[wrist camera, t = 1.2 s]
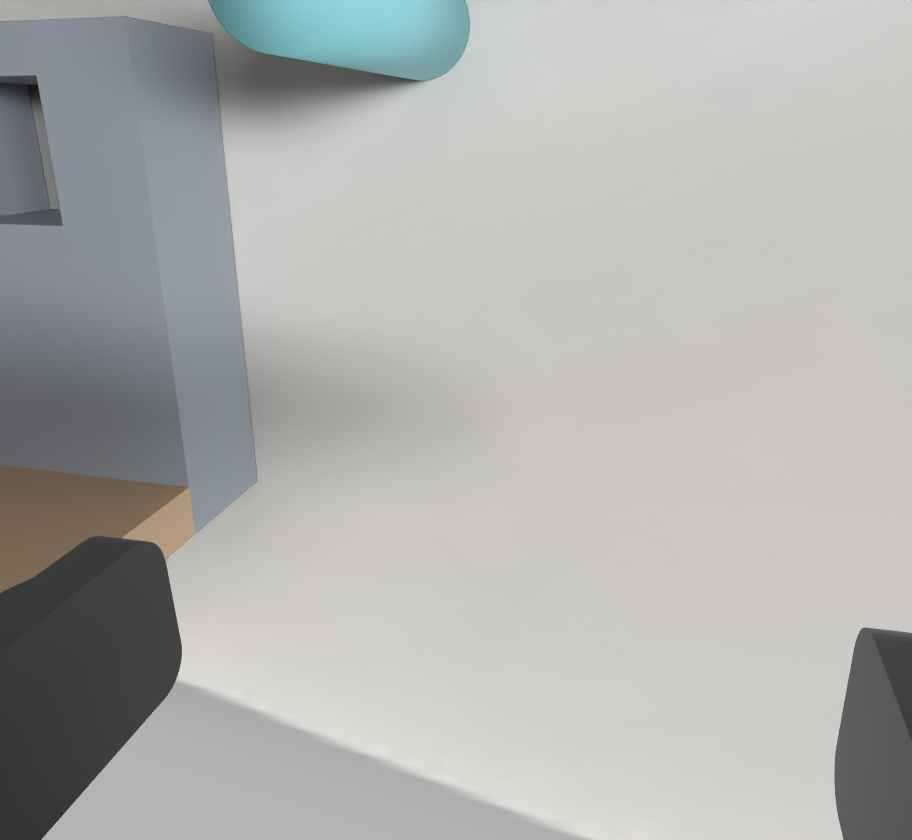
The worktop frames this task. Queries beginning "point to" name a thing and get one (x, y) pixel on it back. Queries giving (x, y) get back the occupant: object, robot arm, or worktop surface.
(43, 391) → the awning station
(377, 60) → the peg
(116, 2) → the worktop surface
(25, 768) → the robot arm
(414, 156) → the worktop surface
